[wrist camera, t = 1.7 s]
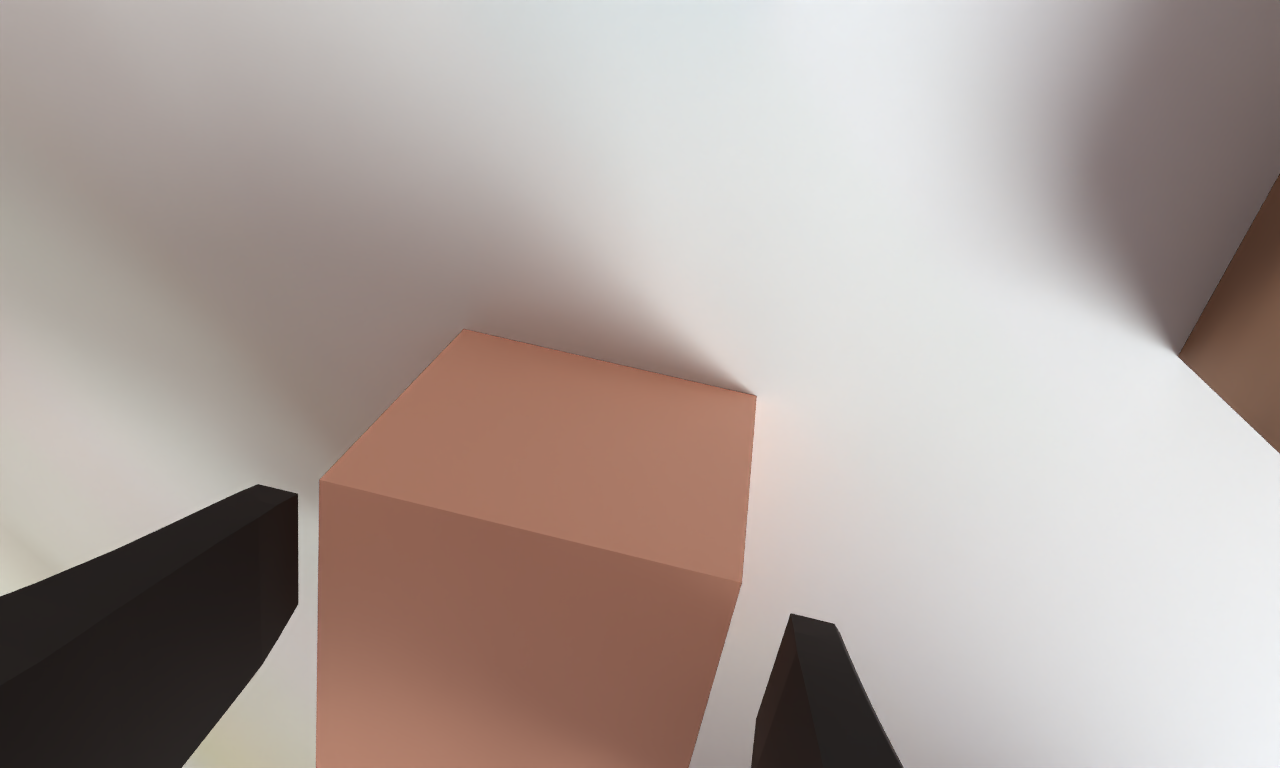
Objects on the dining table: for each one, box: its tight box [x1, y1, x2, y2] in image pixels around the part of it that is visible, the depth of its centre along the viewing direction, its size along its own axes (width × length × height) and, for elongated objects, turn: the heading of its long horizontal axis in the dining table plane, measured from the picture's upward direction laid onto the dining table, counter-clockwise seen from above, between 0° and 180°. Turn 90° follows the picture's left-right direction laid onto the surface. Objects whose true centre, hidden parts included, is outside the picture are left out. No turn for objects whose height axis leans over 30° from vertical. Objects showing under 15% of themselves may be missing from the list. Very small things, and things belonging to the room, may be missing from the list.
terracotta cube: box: [316, 329, 757, 768], centre depth 13 cm, size 5×5×5 cm
